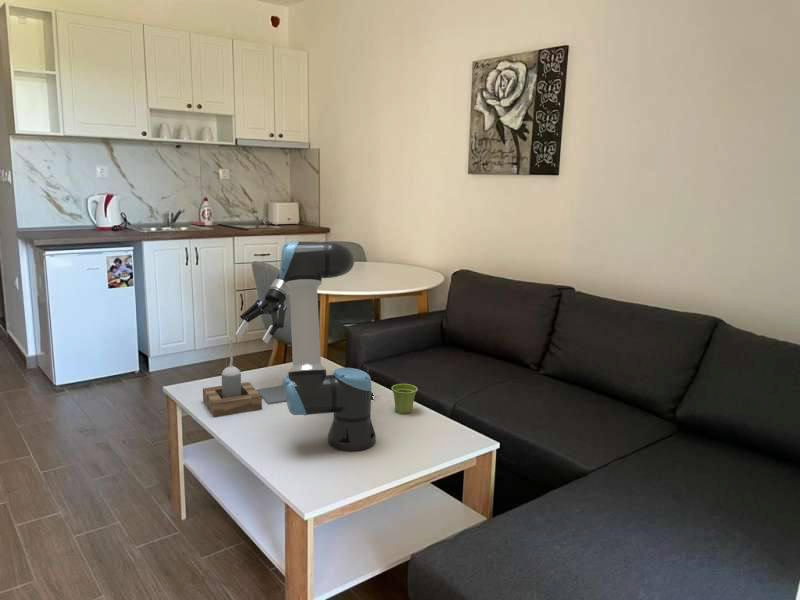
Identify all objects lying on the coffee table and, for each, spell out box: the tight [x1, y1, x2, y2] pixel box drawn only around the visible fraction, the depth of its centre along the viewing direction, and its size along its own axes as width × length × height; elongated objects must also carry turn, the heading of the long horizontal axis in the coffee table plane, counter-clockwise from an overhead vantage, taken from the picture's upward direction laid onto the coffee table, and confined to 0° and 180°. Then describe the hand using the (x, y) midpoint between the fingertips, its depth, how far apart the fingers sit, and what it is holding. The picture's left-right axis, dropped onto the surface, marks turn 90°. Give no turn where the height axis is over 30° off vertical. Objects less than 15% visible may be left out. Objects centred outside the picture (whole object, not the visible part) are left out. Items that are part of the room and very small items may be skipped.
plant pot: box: [391, 383, 418, 415], centre depth 212 cm, size 9×9×9 cm
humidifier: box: [221, 338, 242, 399], centre depth 211 cm, size 8×8×25 cm
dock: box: [202, 381, 263, 418], centre depth 213 cm, size 17×17×5 cm
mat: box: [255, 384, 287, 405], centre depth 226 cm, size 16×16×1 cm
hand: (251, 338), depth 218 cm, fingers open, 13 cm apart
